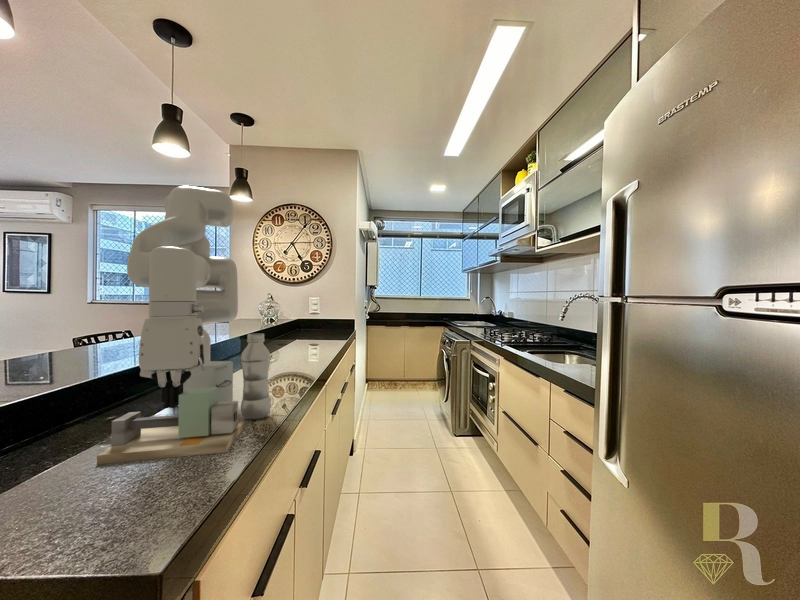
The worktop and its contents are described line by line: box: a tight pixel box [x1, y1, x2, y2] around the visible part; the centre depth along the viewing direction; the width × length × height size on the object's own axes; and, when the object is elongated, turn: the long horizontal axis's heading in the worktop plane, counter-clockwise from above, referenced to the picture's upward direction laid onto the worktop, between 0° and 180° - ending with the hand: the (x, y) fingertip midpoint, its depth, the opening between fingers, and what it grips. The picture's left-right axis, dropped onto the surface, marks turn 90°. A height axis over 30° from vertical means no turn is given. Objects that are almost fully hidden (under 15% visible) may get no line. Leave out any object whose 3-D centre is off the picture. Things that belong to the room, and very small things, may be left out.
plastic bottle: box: [240, 333, 272, 420], centre depth 75 cm, size 6×7×20 cm
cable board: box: [96, 400, 245, 465], centre depth 61 cm, size 12×20×7 cm, turn 102°
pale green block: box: [178, 387, 218, 438], centre depth 62 cm, size 5×5×8 cm
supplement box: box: [187, 360, 234, 403], centre depth 79 cm, size 7×7×13 cm
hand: (172, 405), depth 61 cm, fingers closed
